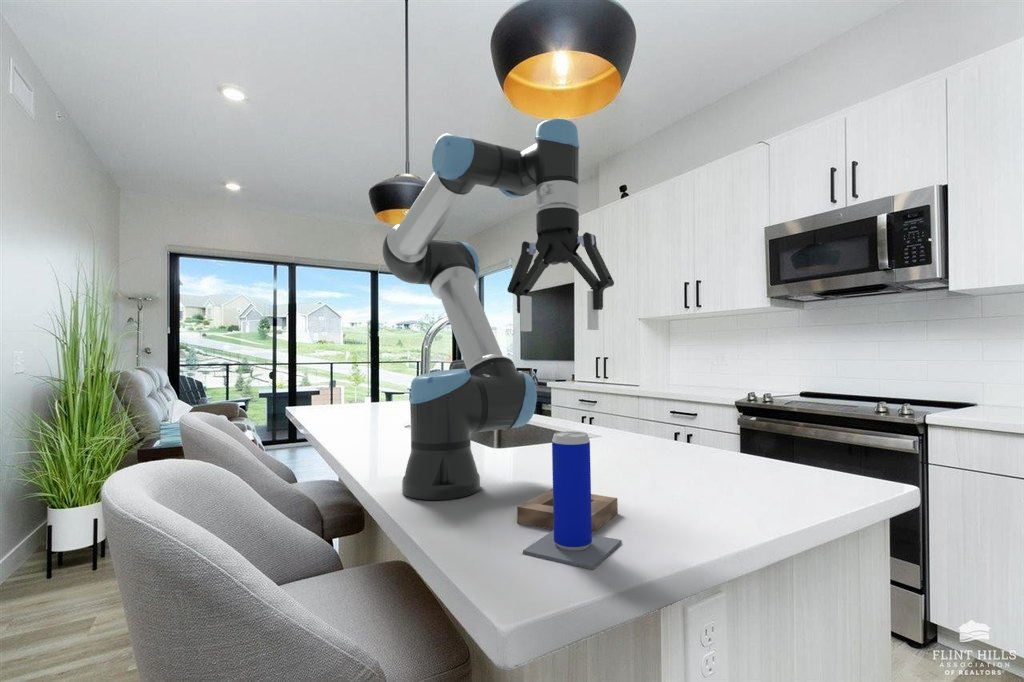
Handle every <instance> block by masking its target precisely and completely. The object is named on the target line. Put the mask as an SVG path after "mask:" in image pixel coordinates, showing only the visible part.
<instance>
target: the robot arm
mask: <svg viewBox="0 0 1024 682" xmlns="http://www.w3.org/2000/svg"><path fill="white" fill-rule="evenodd" d="M534 140H535V143H534V144H533V145H531V146H529V147H527V148H526V149H524V150H518V149H515V148H511V147H507V146H503V145H499V144H494V143H490V142H486V141H482V140H479V139H474V138H471V137H467V136H465V135H457V134H452V133H451V134H449V133H444V134H442V135H441V136H439V137H438V139H437V140H436V142H435V143H434V149H433V150H432V156H431V165H432V166H431V167H432V169H433V173H432V175H431V176H430V178H429V179H428V181H427V182H426V183H425V185H424V187H423V188H422V190H421V191H420V193H419V195H417V197H416V199H415V200H414V202H413V204H412V205H411V207H410V208H409V210H408V211H407V212H406V214H405V215H404V217H403V219H402V220H401V221H400V223H399V224H396V225H395V226H393V227H392V228H390V230H389V231H388V233H387V234H386V236H385V238H384V240H383V243H382V257H383V259H384V262H385V265H386V267H387V269H388V270H389V271H390V272H391V273H392V274H393V276H394V277H396V278H397V279H399V280H401V281H403V282H404V283H408V284H413V285H426V286H429V287H430V290H431V293H432V294H433V296H435V298H437V299H438V300H441V303H442V305H443V308H444V312H445V313H446V316H447V319H448V322H449V324H450V327H451V329H452V332H453V335H454V338H455V340H456V341H455V342H456V343H457V346H458V349H459V351H460V354H461V357H462V359H463V363H464V365H465V368H454V369H452V368H451V369H444V370H439V371H433V372H427V373H426V372H425V373H422V374H420V375H417V376H415V377H414V378H413V379H412V380H411V384H410V397H409V399H408V400H409V406H410V454H409V458H408V461H407V464H406V469H405V473H404V476H403V477H402V481H401V482H402V485H401V489H402V490H401V492H402V494H403V496H406V497H409V498H412V499H416V500H427V501H441V500H442V501H444V500H453V499H459V498H460V499H461V498H465V497H467V496H470V495H473V494H476V493H477V492H478V491H480V489H481V476H480V473H479V471H478V469H477V465H476V462H475V458H474V455H473V453H472V446H471V443H472V442H471V436H472V435H471V434H472V433H480V432H481V433H482V432H490V431H491V432H492V431H499V430H512V429H515V428H520V427H523V426H526V425H527V424H528V423H529V422H530V421H531V419H532V418H533V416H534V413H535V411H536V406H537V401H538V400H537V399H538V394H537V386H536V383H535V381H534V379H533V377H532V376H531V375H530V374H529V373H526V372H522V371H521V372H518V370H517V369H516V366H515V364H514V361H513V360H512V359H511V358H509V357H507V356H504V355H503V353H502V350H501V348H500V346H499V344H498V341H497V339H496V336H495V334H494V332H493V328H492V327H491V325H490V321H489V319H488V317H487V315H486V312H485V310H484V307H483V305H482V304H481V301H480V298H479V296H478V293H477V290H476V289H475V286H476V284H477V280H478V279H479V275H480V274H479V273H480V266H479V263H480V259H479V257H478V256H479V255H478V253H477V252H476V250H475V249H474V247H473V246H472V245H471V244H469V243H467V242H463V241H462V242H461V241H459V240H454V239H452V240H446V239H441V238H435V236H436V235H437V233H439V231H440V230H441V229H442V228H443V226H444V225H445V224H446V222H447V221H448V220H449V218H451V216H452V215H453V213H455V211H456V210H457V209H458V207H459V206H460V205H461V204H462V202H463V201H464V199H466V198H467V196H468V195H469V194H470V192H471V191H473V188H474V187H475V186H476V185H479V186H485V187H489V188H495V189H498V190H499V191H500V192H501V193H502V194H504V195H505V196H506V197H508V198H511V199H512V198H513V199H515V198H516V199H517V198H521V197H525V196H528V195H529V194H532V193H534V192H535V193H536V204H535V205H536V210H537V213H536V214H535V215H536V217H535V218H536V220H535V221H536V224H535V225H536V226H535V227H536V229H535V230H536V231H535V232H536V234H537V239H536V242H529V241H526V240H525V241H523V242H522V243H521V252H520V254H519V255H520V256H519V257H518V261H517V264H516V266H515V268H514V271H513V274H512V275H511V279H510V281H509V283H508V286H507V292H508V293H510V294H513V295H515V296H516V312H517V314H519V319H520V320H519V321H520V322H519V323H520V324H519V326H520V327H519V328H520V329H519V331H520V332H532V330H533V326H532V325H533V324H532V323H533V320H532V318H533V317H532V316H533V315H532V312H533V311H532V308H533V307H532V300H533V298H532V296H530V295H529V294H530V292H531V290H532V289H533V287H534V286H535V284H536V283H537V282H538V281H539V279H540V277H541V276H542V274H543V273H544V271H545V270H546V269H547V268H549V266H550V265H553V266H555V265H559V264H564V265H565V264H569V263H570V264H571V265H572V266H573V267H574V269H575V270H576V271H577V272H578V274H579V275H580V276H581V277H582V279H583V280H584V281H585V282H586V283H587V285H588V286H589V287H590V290H587V291H586V292H587V294H586V296H587V303H586V304H587V305H586V308H587V315H586V316H587V317H586V318H587V319H586V320H587V324H586V325H587V330H589V331H599V311H601V310H603V308H604V291H605V290H606V289H607V288H610V287H613V286H614V285H615V282H614V279H613V277H612V275H611V273H610V271H609V269H608V267H607V265H606V263H605V261H604V259H603V256H602V254H601V253H600V250H599V248H598V247H597V246H598V245H597V238H596V237H597V236H596V235H594V234H592V233H590V232H584V233H583V235H579V229H580V219H579V218H580V215H579V214H580V213H579V212H578V209H579V207H580V204H579V202H580V201H579V199H580V198H579V197H580V196H579V155H580V154H579V153H580V152H579V149H580V144H579V132H578V127H577V125H576V124H575V123H574V122H573V121H571V120H567V119H566V118H565V119H564V118H551V119H547V120H543V121H542V122H540V123H538V125H537V127H536V131H535V137H534ZM580 246H581V247H582V248H584V250H585V252H586V254H587V256H588V259H589V260H590V262H591V265H592V267H593V268H594V270H595V272H596V275H597V276H596V275H595V273H594V272H593V271H592V270H591V268H589V266H588V265H587V264H586V263H585V262H584V261H583V258H582V257H581V255H580V254H579V253H578V252H577V250H578V249H579V247H580ZM537 252H538V254H536V253H537ZM535 254H536V257H535V258H534V255H535ZM532 262H533V264H532ZM531 265H532V266H531Z"/></svg>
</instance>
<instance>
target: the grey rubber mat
mask: <svg viewBox="0 0 1024 682" xmlns="http://www.w3.org/2000/svg"><path fill="white" fill-rule="evenodd" d="M621 544H622V539H617V538H613V537H608V536H604V535H603V536H602V535H597V534H594V533H592V542H591V544H590V545H589V547H588V548H586V549H584V550H580V551H568V550H564V549H561V548H559V547H558V546H557V545H556V543H555V542H554V530H553V529H552V530H551V531H550V532H549V533H547V534H545V535H543V536H542V537H541V538H539V539H538V540H536V541H534V542H533V543H531V544H530V545H528V546H526V547H525V548H524V549H523V550H522V554H523V555H528V556H531V557H536V558H540V559H541V558H542V559H545V560H549V561H554V562H557V563H558V562H559V563H561V564H562V563H563V564H566V565H571V566H575V567H580V568H584V569H588V570H594V569H595V568H596V567H598V566H599V564H601V563H602V562H603V561H604V560H605V559H606V558H607V557H609V555H611V553H613V552H614V551H615V549H617V547H619V546H620V545H621Z"/></svg>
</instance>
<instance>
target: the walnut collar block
mask: <svg viewBox="0 0 1024 682" xmlns="http://www.w3.org/2000/svg"><path fill="white" fill-rule="evenodd" d="M618 506H619V505H618V497H614V496H613V497H612V496H606V495H599V494H592V493H591V519H592V534H594V532H596V531H597V530H599V529H600V528H601V527H602V526H604V525H605V524H606V523H608V522H609V521H610V520H611V519H613V517H615V516H617V514H618V513H619V511H618ZM516 517H517V518H516V520H517V521H516V523H518V524H524V525H527V526H534V527H538V528H544V529H549V530H552V531H553V530H554V524H553V488H551V489H549V490H547V491H544V492H543V493H541V494H539V495H537V496H535V497H533V498H531V499H529V500H527V501H525V502H523V503H521V504H520V505H517V506H516Z"/></svg>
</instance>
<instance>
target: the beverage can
mask: <svg viewBox="0 0 1024 682" xmlns="http://www.w3.org/2000/svg"><path fill="white" fill-rule="evenodd" d="M551 447H552V448H551V457H552V458H551V459H552V460H551V461H552V465H551V466H552V489H553V524H554V542H555V543H556V545H557V546H558V547H559V548H561V549H564V550H568V551H580V550H584V549H586V548H588V547H589V545H590V544H591V542H592V534H593V533H592V519H591V494H592V489H591V488H592V486H591V485H592V482H591V481H592V479H591V473H592V472H591V441H590V437H589V434H588V433H587V432H583V431H575V430H574V431H568V430H567V431H558V432H554V434H553V437H552V439H551Z"/></svg>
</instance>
